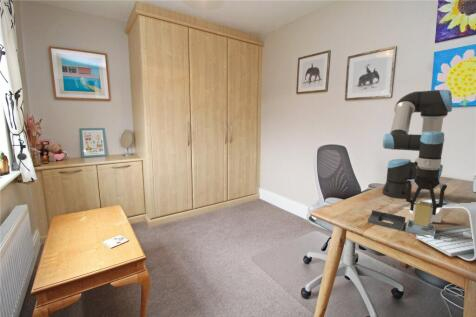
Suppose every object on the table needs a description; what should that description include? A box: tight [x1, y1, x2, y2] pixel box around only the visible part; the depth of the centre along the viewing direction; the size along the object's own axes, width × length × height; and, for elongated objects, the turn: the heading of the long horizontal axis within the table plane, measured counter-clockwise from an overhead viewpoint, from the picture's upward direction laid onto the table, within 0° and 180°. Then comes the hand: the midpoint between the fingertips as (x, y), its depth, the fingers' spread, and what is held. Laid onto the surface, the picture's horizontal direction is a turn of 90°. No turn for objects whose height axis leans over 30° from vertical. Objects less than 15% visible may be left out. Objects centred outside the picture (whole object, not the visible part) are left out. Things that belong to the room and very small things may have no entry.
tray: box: [405, 219, 436, 237], centre depth 104 cm, size 10×10×2 cm
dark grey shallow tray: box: [367, 209, 406, 232], centre depth 112 cm, size 10×14×3 cm
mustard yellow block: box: [413, 200, 432, 227], centre depth 103 cm, size 5×5×10 cm
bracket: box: [409, 208, 443, 224], centre depth 117 cm, size 13×7×8 cm, turn 169°
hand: (421, 219), depth 103 cm, fingers closed on mustard yellow block, 5 cm apart
